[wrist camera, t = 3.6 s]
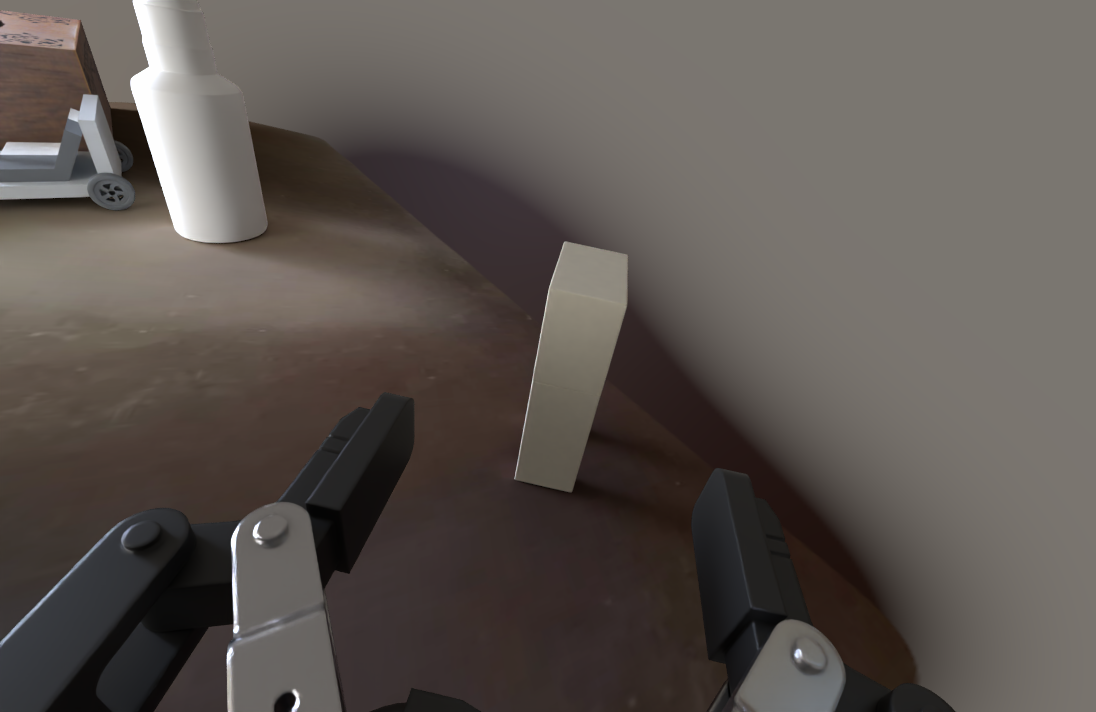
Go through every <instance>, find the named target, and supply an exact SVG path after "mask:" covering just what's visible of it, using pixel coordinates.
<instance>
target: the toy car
mask: <svg viewBox="0 0 1096 712" xmlns="http://www.w3.org/2000/svg"><path fill="white" fill-rule="evenodd" d="M82 133H83V136H84V139H85V141H86V144H87V146H88V149H89V152H86V151H78V148H79V144H80V141H81V137H82ZM118 151H119V152H120V153H121V154H118ZM120 159H123V160H122V161H121V160H120ZM132 165H133V156H132V153H131V151H130V150H129V149H128V148H127V147H126V146H125V145H124V144H122V143H120V142H118V141H115V140H113V137H112V134H111V131H110V128H109V125H108V123H107V120H106V117H105V114H104V111H103V108H102V105H101V102H100V100H99V97H98V95H87V94H83V98H82V103H81V107H80V111H77V110H75V109H72V108H71V109H70V112H69V116H68V119H67V122H66V126H65V129H64V133H63V137H62V141H61V143H36V142H7V143H6V144H5V146H4V148H3V150H2V151H0V199H32V198H66V197H91V199H92V200H93V201H94V202H95V203H97V204H98V205H100V206H102V207H104V208H107V209H110V210H123V209H126V208H128V207H130V206H131V205H132V204H133V203H134V201H135V190H134V188H133V186H132V185H131V183H130V182H129V181H127V180H126V179H125V178H123V177H121V172H124V171H127V170H129V169H130V168H131V166H132ZM122 195H123V196H122ZM119 196H122V197H121V198H119ZM109 197H114V199H110V198H109Z"/></svg>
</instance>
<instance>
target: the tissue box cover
mask: <svg viewBox="0 0 1096 712" xmlns="http://www.w3.org/2000/svg"><path fill="white" fill-rule="evenodd" d="M83 94H87V95H98V97H99V100H100V102H101V105H102V108H103V111H104V114H105V117H106V120H107V123H108V125H109V128H110V131H111V134H112V137H113V132H112V121H111V110H110V106H109V103H108V100H107V97H106V94H105V91H104V88H103V85H102V82H101V79H100V76H99V73H98V70H97V67H96V64H95V61H94V58H93V55H92V52H91V49H90V46H89V44H88V41H87V38H86V35H85V32H84V29H83V26H82V23H81V20H74V19H66V18H58V17H50V16H42V15H34V14H33V15H32V14H25V13H17V12H9V11H1V10H0V151H2V150H3V148H4V146H5V144H6V143H7V142H36V143H61V141H62V137H63V133H64V129H65V126H66V122H67V119H68V116H69V112H70V109H71V108H72V109H75V110H77V111H80V107H81V103H82V98H83ZM78 151H86V152H89V149H88V146H87V144H86V141H85V139H84V136H83V133H82V137H81V141H80V144H79V148H78Z"/></svg>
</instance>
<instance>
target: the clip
mask: <svg viewBox="0 0 1096 712" xmlns="http://www.w3.org/2000/svg"><path fill="white" fill-rule="evenodd" d="M627 293H628V255H627V254H621V253H617V252H612V251H608V250H602V249H598V248H593V247H589V246H584V245H579V244H575V243H570V242H564V244H563V248H562V250H561V254H560V257H559V260H558V263H557V266H556V269H555V272H554V275H553V278H552V281H551V284H550V287H549V291H548V296H547V302H546V307H545V313H544V318H543V324H542V329H541V335H540V340H539V346H538V351H537V357H536V363H535V368H534V374H533V379H532V385H531V390H530V396H529V401H528V407H527V412H526V418H525V424H524V429H523V435H522V440H521V446H520V451H519V457H518V462H517V468H516V473H515V480H518V481H522V482H526V483H531V484H535V485H540V486H544V487H548V488H553V489H557V490H562V491H566V492H570V493H571V492H572V491H573V487H574V484H575V481H576V477H577V474H578V470H579V467H580V464H581V460H582V457H583V454H584V450H585V447H586V443H587V440H588V437H589V433H590V430H591V426H592V423H593V420H594V416H595V413H596V410H597V406H598V403H599V399H600V395H601V393H602V389H603V386H604V383H605V379H606V376H607V372H608V369H609V365H610V362H611V359H612V356H613V352H614V349H615V345H616V342H617V339H618V335H619V332H620V329H621V325H622V322H623V318H624V315H625V312H626V308H627Z"/></svg>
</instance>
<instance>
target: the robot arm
mask: <svg viewBox="0 0 1096 712" xmlns="http://www.w3.org/2000/svg"><path fill="white" fill-rule="evenodd" d="M413 445H414V400H413V399H412V398H408V397H404V396H400V395H395V394H391V393H386V392H385V393H383V394H382V395H381V396H380V397H379V398H378V400H377V401H376V403H375V404H374V406H373V407H372V408H371V410H370V409H365V408H361V407H358V408H357V409H355V410H354V411H352V412H351V413H349V414H348V415H346V416H344V417H343V418H341V419H340V421H339V422H338V423H337V425H336V426H335V427H334V429H333V430H332V431H331V433H330V434H329V437H327V438H326V439H325V440H324V442H323V443H322V444H321V446H320V449H319V450H317V451H316V452H315V453H314V455H313V456H312V457H311V459H310V460H309V461H308V463H307V464H306V465H305V467H304V468H303V469H302V470H301V472H300V473H299V474H298V476H297V477H296V478H295V480H294V481H293V482H292V483H291V485H290V486H289V487H288V489H287V490H286V491H285V493H284V494H283V495H282V496H281V498H280V499H279V500H278V501H277V502H276V503H273V504H269V505H266V506H263V507H261V508H258V509H256V510H255V511H253V512H251V513H250V514H249V515H247V516H246V517H245V518H244V519H243V520H239V521H232V522H219V523H204V524H190V523H189V521H188V519H187V517H186V516H185V515H184V514H183V513H182V512H180V511H178V510H175V509H171V508H156V509H150V510H147V511H143V512H140V513H137V514H135V515H133V516H131V517H128V518H127V519H125V520H123V521H122V522H120V523H119V524H117V525H116V526H114V527H113V528H112V529H111V530H110V531H109V532H108V533H107V534H106V535H105V536H104V537H103V538H102V539H101V540H100V541H99V542H98V543H97V544H96V545H95V546H94V547H93V548H92V549H91V550H90V551H89V552H88V553H87V554H86V555H85V556H84V557H83V558H82V559H81V560H80V561H79V562H78V563H77V564H76V565H75V566H74V567H73V568H72V569H71V570H70V571H69V572H68V573H67V574H66V575H65V576H64V577H63V579H62V580H61V581H60V582H59V583H58V584H57V585H56V586H55V587H54V588H53V589H52V590H51V591H50V592H49V593H48V594H47V595H46V596H45V597H44V598H43V599H42V600H41V601H40V602H39V603H38V604H37V605H36V606H35V607H34V608H33V609H32V610H31V611H30V612H29V613H28V614H27V615H26V616H25V617H24V618H23V619H22V620H21V621H20V622H19V623H18V624H17V625H16V626H15V627H14V628H13V629H12V630H11V631H10V633H9V634H8V635H7V636H6V637H5V638H4V639H3V640H2V641H1V642H0V712H154V710H155V709H156V707H157V705H158V704H159V702H160V701H161V699H162V698H163V696H164V695H165V693H166V692H167V690H168V689H169V687H170V686H171V684H172V683H173V681H174V679H175V678H176V676H177V675H178V673H179V672H180V670H181V669H182V667H183V666H184V664H185V663H186V661H187V660H188V658H189V657H190V655H191V653H192V652H193V650H194V649H195V647H196V646H197V644H198V643H199V641H200V640H201V638H202V637H203V635H204V634H205V632H206V631H207V629H208V627H212V626H220V625H229V624H234V637H233V640H232V641H230V642H229V645H228V651H227V692H228V712H347V711H346V705H345V700H344V694H343V689H342V683H341V678H340V673H339V667H338V662H337V656H336V650H335V645H334V639H333V633H332V627H331V622H330V616H329V610H328V604H327V599H326V593H325V586H326V585H327V583H328V581H329V579H330V578H331V576H332V574H333V572H334V570H336V571H340V572H345V573H350V571H351V569H352V567H353V566H354V564H355V562H356V560H357V558H358V556H359V554H360V552H361V550H362V548H363V547H364V545H365V543H366V541H367V539H368V537H369V535H370V533H371V531H372V530H373V528H374V526H375V524H376V522H377V520H378V518H379V516H380V514H381V512H382V511H383V509H384V507H385V505H386V503H387V501H388V499H389V497H390V495H391V493H392V492H393V490H394V488H395V486H396V484H397V482H398V480H399V478H400V476H401V474H402V473H403V471H404V469H405V467H406V465H407V463H408V461H409V459H410V456H411V453H412V449H413ZM691 525H692V535H693V543H694V550H695V558H696V566H697V574H698V581H699V589H700V597H701V605H702V612H703V620H704V628H705V635H706V643H707V651H708V659H709V660H712V661H716V662H720V663H725V664H726V668H727V674H728V678H727V680H726V681H725V682H724V683H723V685H722V687H721V688H720V690H719V692H718V693H717V695H716V696H715V698H714V700H713V701H712V703H711V705H710V706H709V708H708V709H707V711H706V712H955V711H954V710H953V709H952V707H951V706H949V705H948V704H947V703H946V702H945V701H944V700H943V699H942V698H940V697H939V696H938V695H936V694H935V693H933V692H932V691H930V690H928V689H926V688H924V687H922V686H919V685H916V684H911V683H905V684H901V685H900V686H898V687H897V688H895V689H894V690H892V691H891V690H890V689H888V688H886V687H884V686H882V685H881V684H879V683H877V682H875V681H873V680H872V679H870V678H868V677H866V676H865V675H863V674H861V673H859V672H857V671H856V670H854V669H852V668H850V667H849V666H847V665H846V664H844V663H843V662H842V660H841V657H840V655H839V654H838V652H837V650H836V649H835V647H834V646H833V645H832V643H831V642H830V641H829V640H828V639H827V638H826V637H825V636H824V635H823V634H822V633H821V632H820V631H818V630H817V629H816V628H814V627H813V625H812V622H811V619H810V616H809V613H808V610H807V607H806V603H805V600H804V597H803V594H802V591H801V588H800V584H799V581H798V578H797V575H796V572H795V569H794V565H793V562H792V559H790V553H789V549H788V546H787V543H785V537H784V534H783V530H782V527H781V524H780V521H779V518H778V517H777V516H776V514H775V513H774V511H773V510H772V509H771V507H770V506H769V504H768V503H767V502H766V500H764V499H760V498H755V495H754V491H753V487H752V484H751V480H750V478H749V476H748V475H746V474H742V473H738V472H733V471H729V470H725V469H720V468H716V469H715V470H714V471H713V472H712V474H711V476H710V478H709V480H708V482H707V483H706V485H705V487H704V489H703V491H702V493H701V494H700V496H699V498H698V500H697V502H696V504H695V506H694V509H693V513H692V523H691ZM370 712H481V711H479V710H478V709H476V708H474V707H473V706H471V705H469V704H468V703H466V702H465V701H463V700H460V699H455V698H451V697H447V696H443V695H439V694H435V693H430V692H426V691H422V690H418V689H414V688H411V691H410V694H409V697H408V700H407V702H406V703H397V704H392V705H388V706H384V707H381V708H378V709H376V710H373V711H370Z"/></svg>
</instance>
